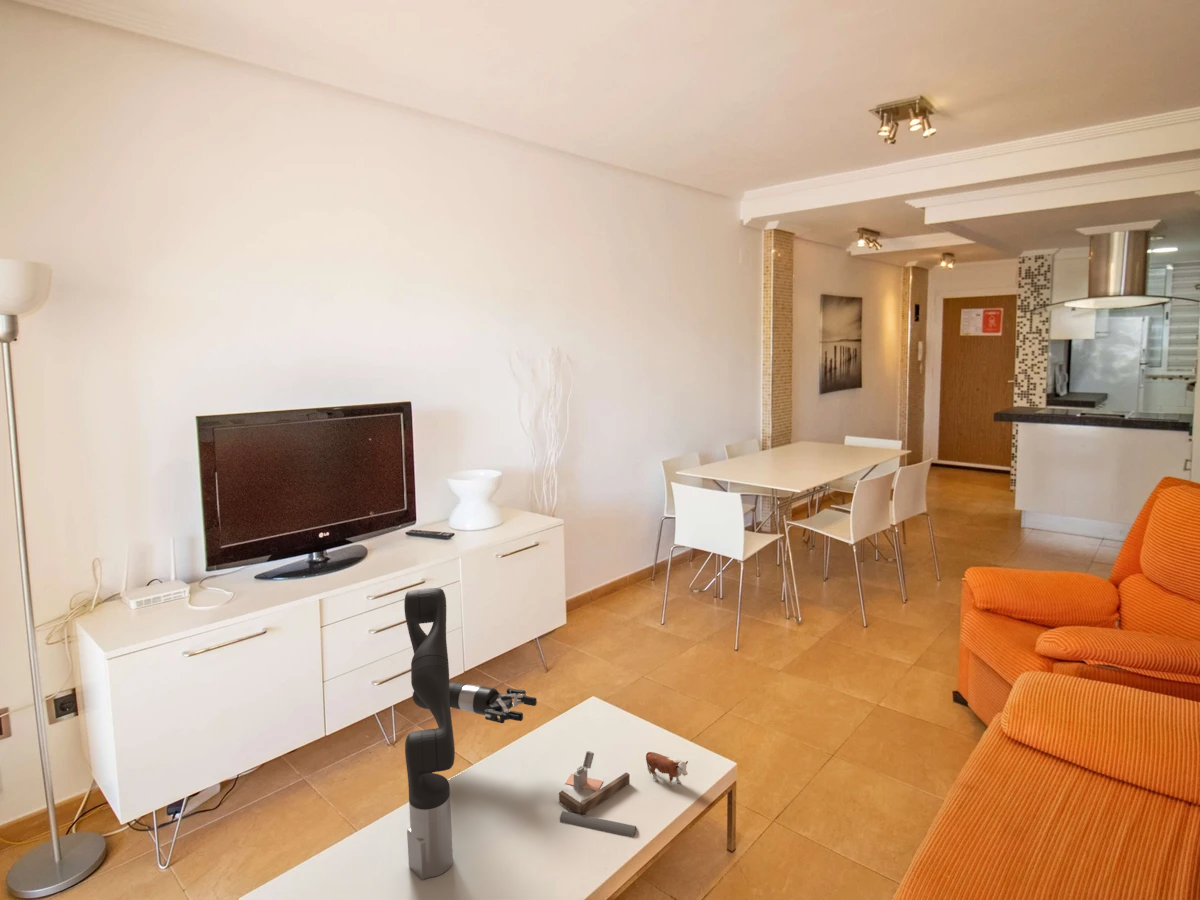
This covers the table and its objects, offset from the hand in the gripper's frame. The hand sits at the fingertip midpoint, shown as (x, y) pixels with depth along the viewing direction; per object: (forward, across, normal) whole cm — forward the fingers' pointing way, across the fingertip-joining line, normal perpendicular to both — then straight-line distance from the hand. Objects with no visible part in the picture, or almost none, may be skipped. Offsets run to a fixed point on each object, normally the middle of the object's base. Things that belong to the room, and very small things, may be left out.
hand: (529, 709), depth 192 cm
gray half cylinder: (+25, -13, +21) cm, 35 cm away
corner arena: (+20, -2, +20) cm, 28 cm away
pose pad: (+16, +1, +20) cm, 25 cm away
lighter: (+16, +1, +20) cm, 25 cm away
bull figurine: (+37, +10, +20) cm, 43 cm away
